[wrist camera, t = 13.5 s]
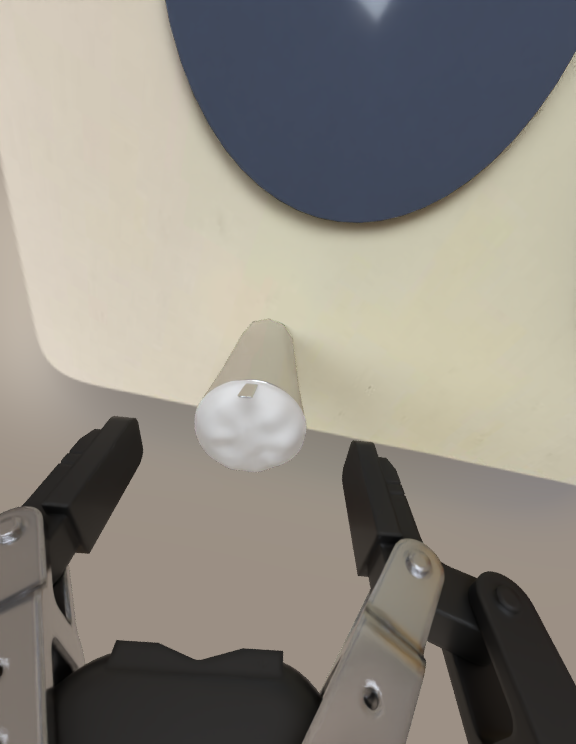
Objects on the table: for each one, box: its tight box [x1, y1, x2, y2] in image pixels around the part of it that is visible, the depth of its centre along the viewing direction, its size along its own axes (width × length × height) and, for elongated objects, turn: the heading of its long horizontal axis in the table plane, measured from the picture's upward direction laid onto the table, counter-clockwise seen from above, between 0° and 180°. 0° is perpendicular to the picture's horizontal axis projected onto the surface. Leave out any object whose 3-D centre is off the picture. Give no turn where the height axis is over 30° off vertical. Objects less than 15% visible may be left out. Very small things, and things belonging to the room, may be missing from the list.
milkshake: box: [195, 319, 306, 472], centre depth 15 cm, size 4×5×10 cm
